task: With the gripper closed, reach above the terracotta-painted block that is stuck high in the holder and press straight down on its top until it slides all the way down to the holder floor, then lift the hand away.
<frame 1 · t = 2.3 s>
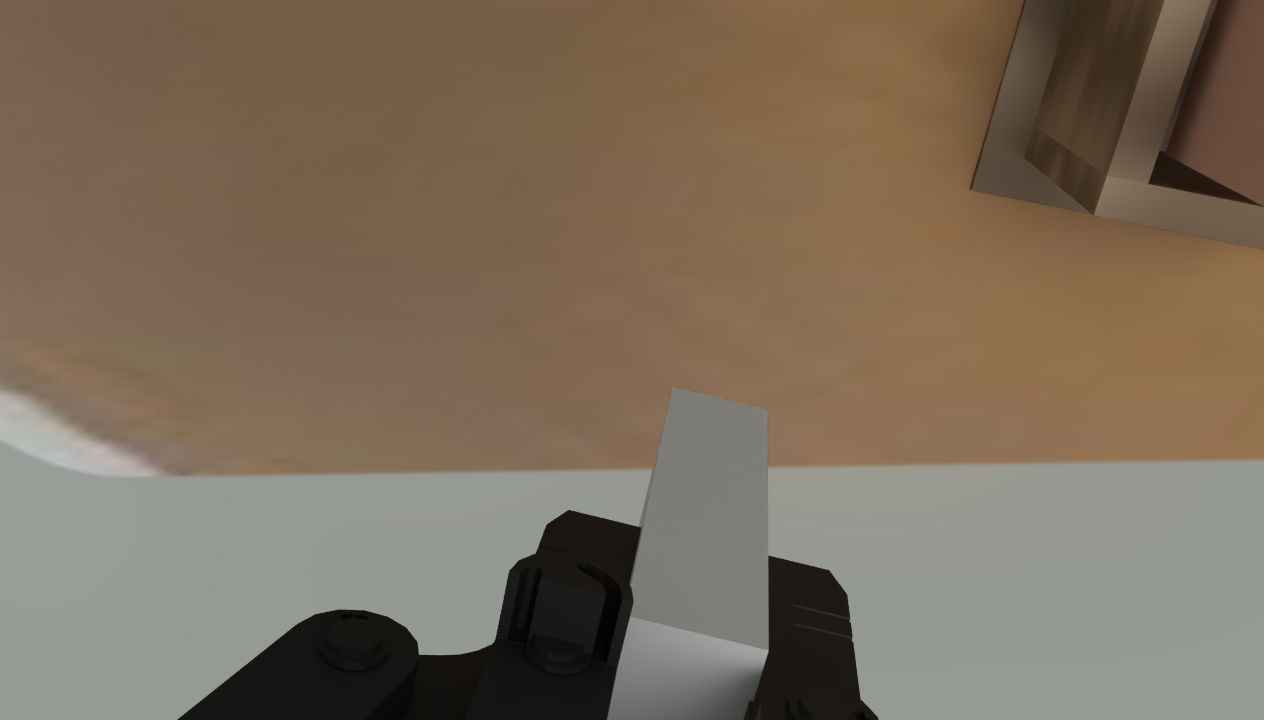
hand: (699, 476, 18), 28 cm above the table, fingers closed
holder: (1182, 59, 42), on the table
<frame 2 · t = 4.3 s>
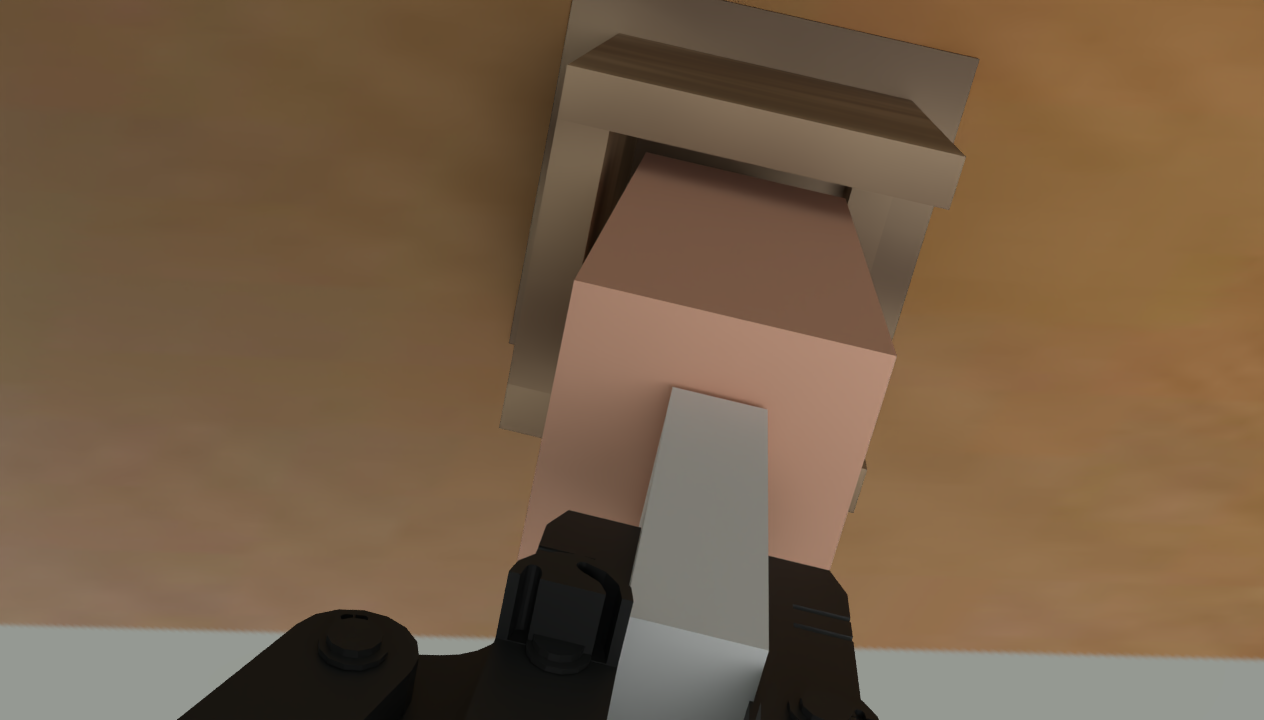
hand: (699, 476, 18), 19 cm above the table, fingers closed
block: (712, 345, 24), point 13 cm above the table, slide at 7.0 cm, touching gripper
holder: (729, 208, 36), on the table
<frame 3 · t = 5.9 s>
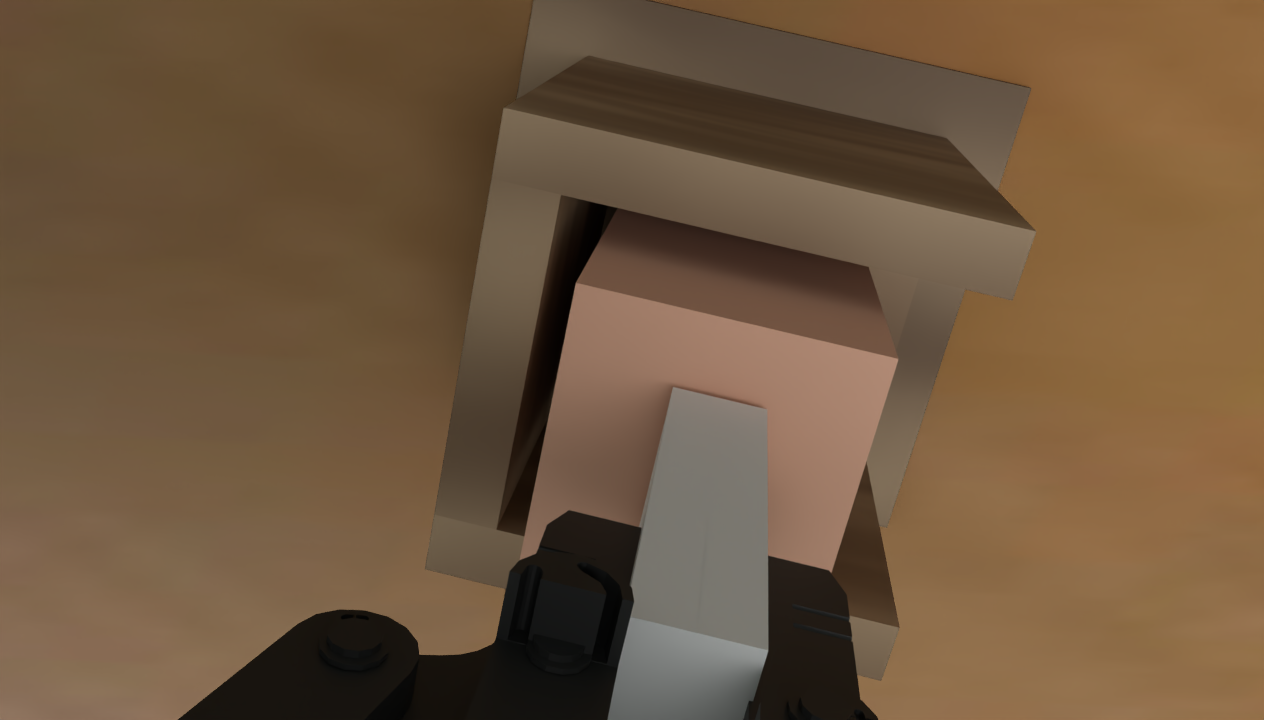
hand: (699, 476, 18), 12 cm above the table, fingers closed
block: (713, 348, 24), point 6 cm above the table, slide at 0.2 cm, touching gripper
holder: (723, 267, 30), on the table
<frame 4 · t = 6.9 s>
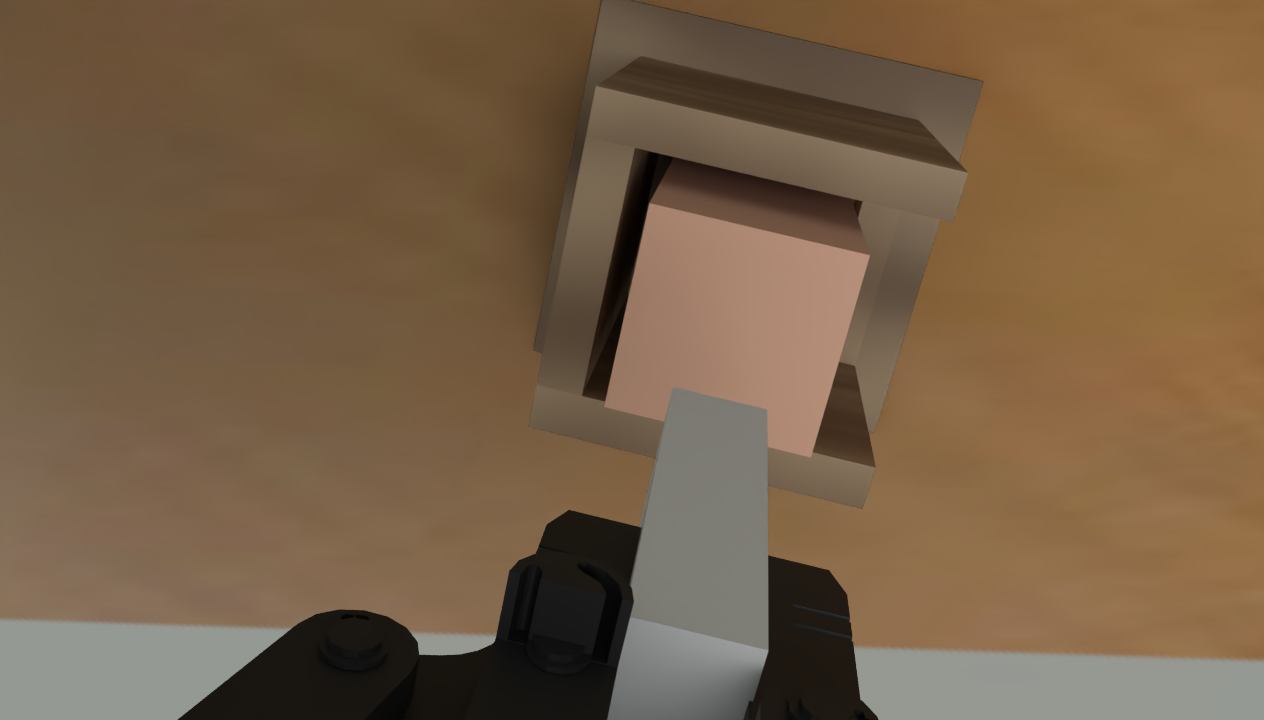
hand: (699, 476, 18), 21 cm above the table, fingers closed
block: (739, 271, 32), point 6 cm above the table, slide at 0.2 cm
holder: (745, 223, 38), on the table
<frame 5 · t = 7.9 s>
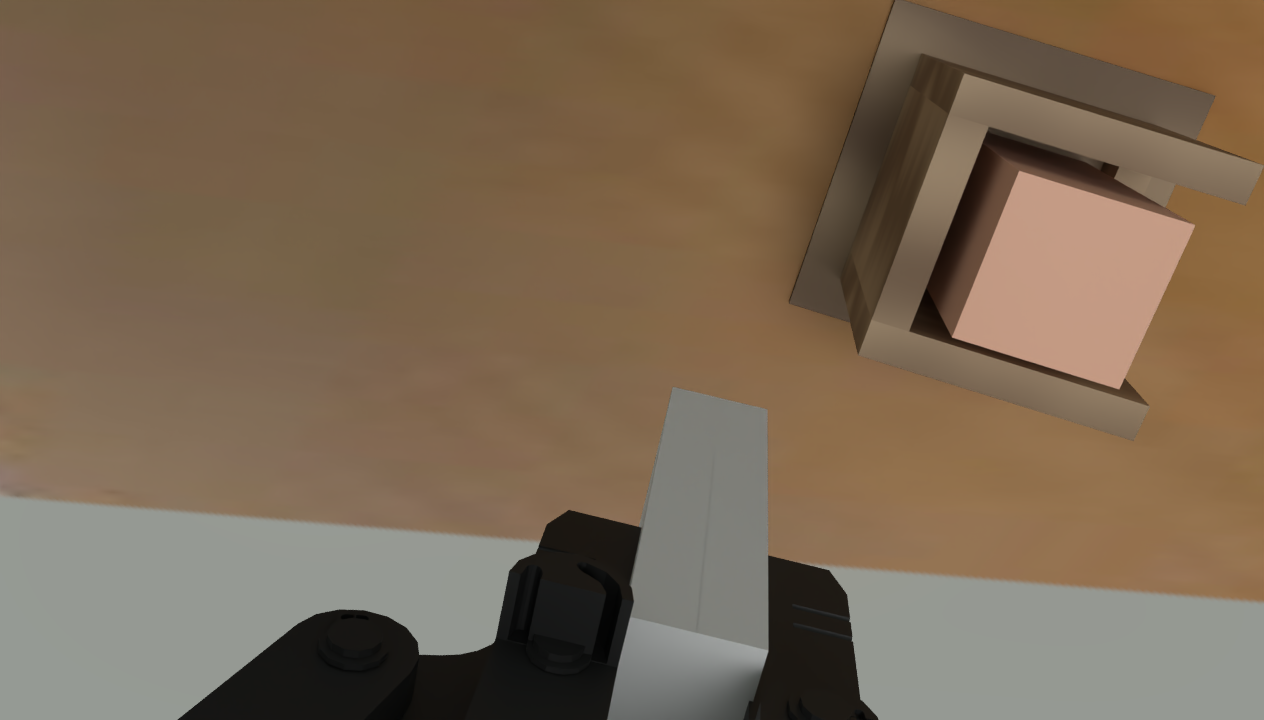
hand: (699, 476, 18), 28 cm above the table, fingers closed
block: (1026, 239, 38), point 6 cm above the table, slide at 0.2 cm
holder: (991, 203, 44), on the table
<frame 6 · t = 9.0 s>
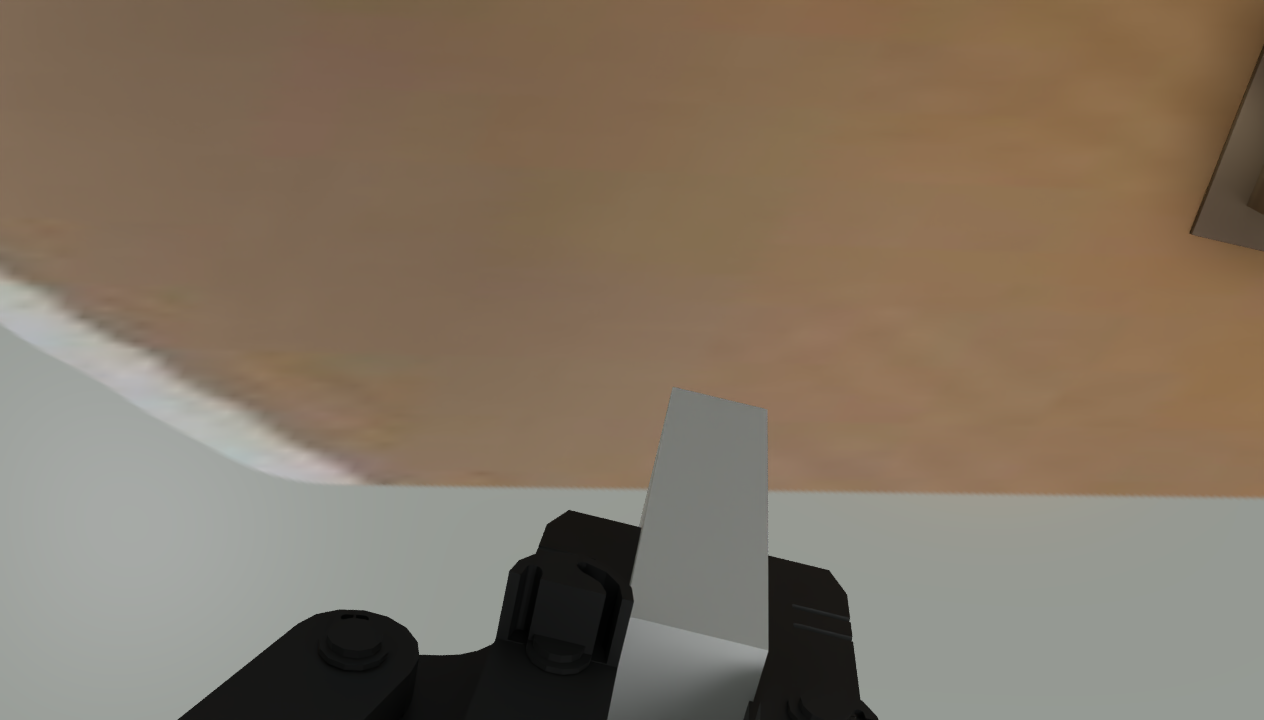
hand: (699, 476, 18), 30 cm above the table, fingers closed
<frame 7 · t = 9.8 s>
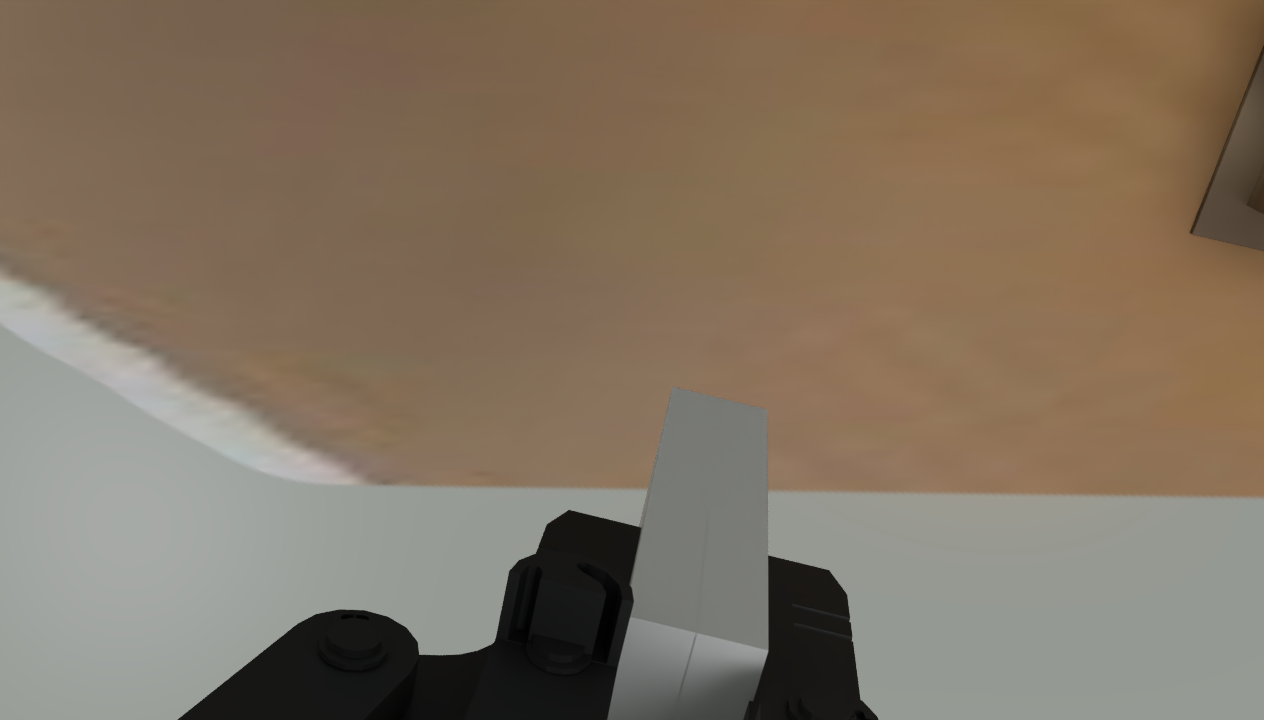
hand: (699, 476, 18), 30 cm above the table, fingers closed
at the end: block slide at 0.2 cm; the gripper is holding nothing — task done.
